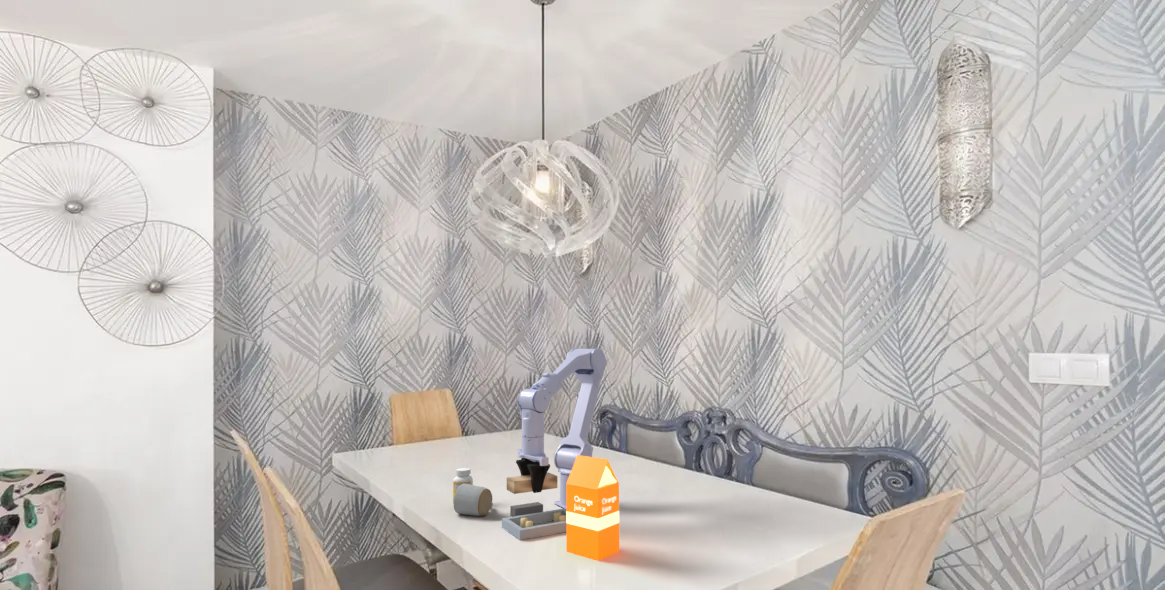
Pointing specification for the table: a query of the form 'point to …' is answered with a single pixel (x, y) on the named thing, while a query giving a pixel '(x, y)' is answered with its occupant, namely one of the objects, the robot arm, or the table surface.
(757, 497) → the table surface
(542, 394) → the robot arm
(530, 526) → the peg frame
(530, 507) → the gray rectangular block
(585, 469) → the orange juice
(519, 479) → the tan rectangular block
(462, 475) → the supplement bottle
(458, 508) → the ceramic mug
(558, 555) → the table surface
